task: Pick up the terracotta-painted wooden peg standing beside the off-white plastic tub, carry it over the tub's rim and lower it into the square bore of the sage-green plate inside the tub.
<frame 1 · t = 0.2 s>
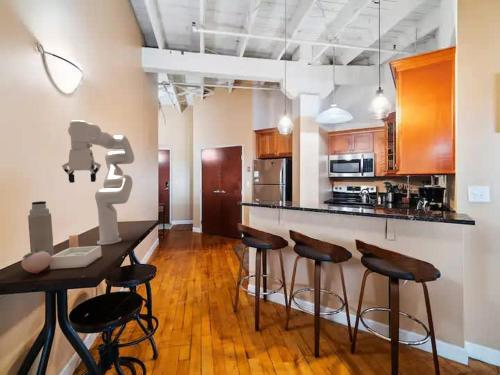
hand: (82, 182, 128), 36 cm above the table, tool pointing down, fingers open, 9 cm apart
decorative fruit: (38, 273, 105), on the table
thermos bottle: (43, 265, 117), on the table
tub: (77, 262, 118), on the table
peg: (74, 255, 128), on the table
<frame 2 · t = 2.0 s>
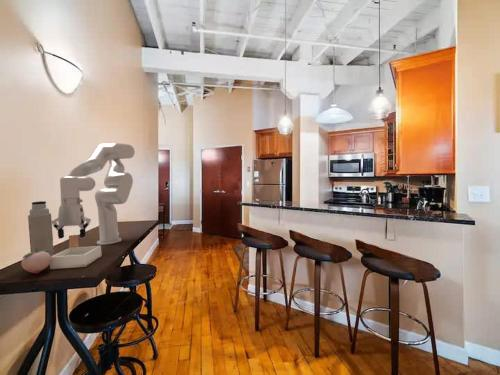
hand: (72, 237, 127), 9 cm above the table, tool pointing down, fingers open, 9 cm apart
nothing on the table moved.
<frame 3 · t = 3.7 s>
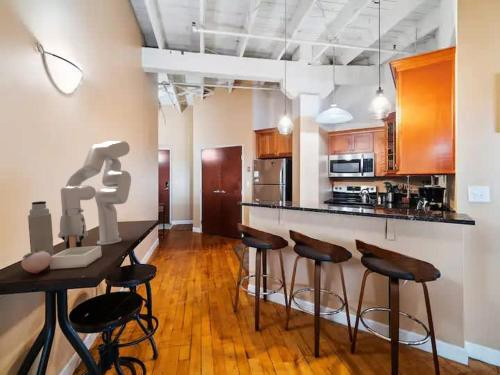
hand: (74, 249, 128), 3 cm above the table, tool pointing down, fingers closed on peg, 3 cm apart
peg: (74, 255, 128), on the table, touching gripper
everything else where it was.
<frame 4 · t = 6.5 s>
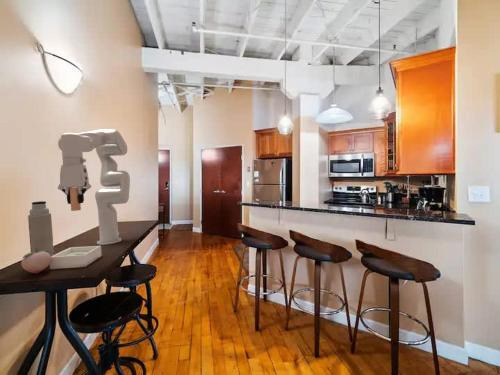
hand: (75, 202, 117), 27 cm above the table, tool pointing down, fingers closed on peg, 3 cm apart
peg: (76, 210, 117), point 23 cm above the table, touching gripper
everything else where it was.
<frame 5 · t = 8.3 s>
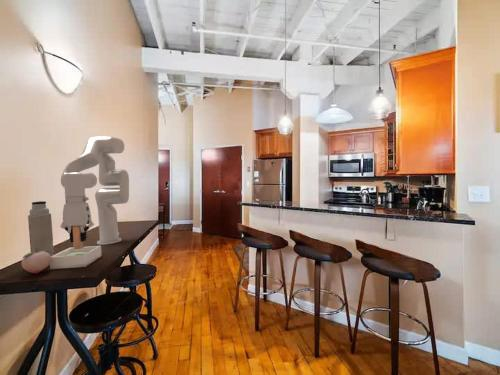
hand: (78, 240, 118), 10 cm above the table, tool pointing down, fingers closed on peg, 3 cm apart
peg: (78, 248, 118), point 6 cm above the table, touching gripper
everything else where it was.
when the fingers open (5 cm above the table, at t = 9.4 s): peg stays where it is, resting on tub.
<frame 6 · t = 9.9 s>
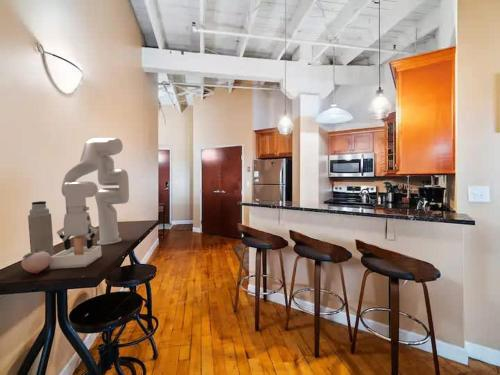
hand: (79, 248, 118), 6 cm above the table, tool pointing down, fingers open, 8 cm apart
peg: (79, 259, 118), point 1 cm above the table, touching tub
everything else where it was.
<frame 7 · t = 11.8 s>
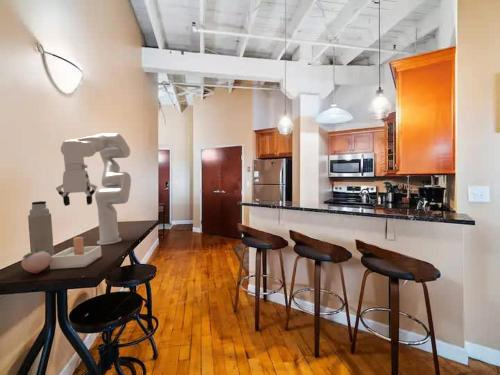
hand: (78, 204, 122), 25 cm above the table, tool pointing down, fingers open, 9 cm apart
nothing on the table moved.
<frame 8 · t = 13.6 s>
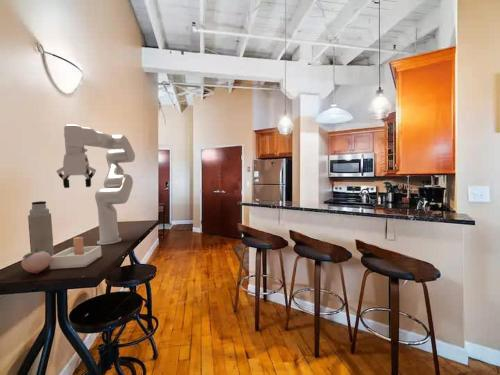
hand: (77, 187, 126), 33 cm above the table, tool pointing down, fingers open, 9 cm apart
nothing on the table moved.
at the end: peg 0.1 cm from the target spot on the tub, point 1.0 cm above the tub's base; peg tilted 0°; the gripper is holding nothing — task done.
